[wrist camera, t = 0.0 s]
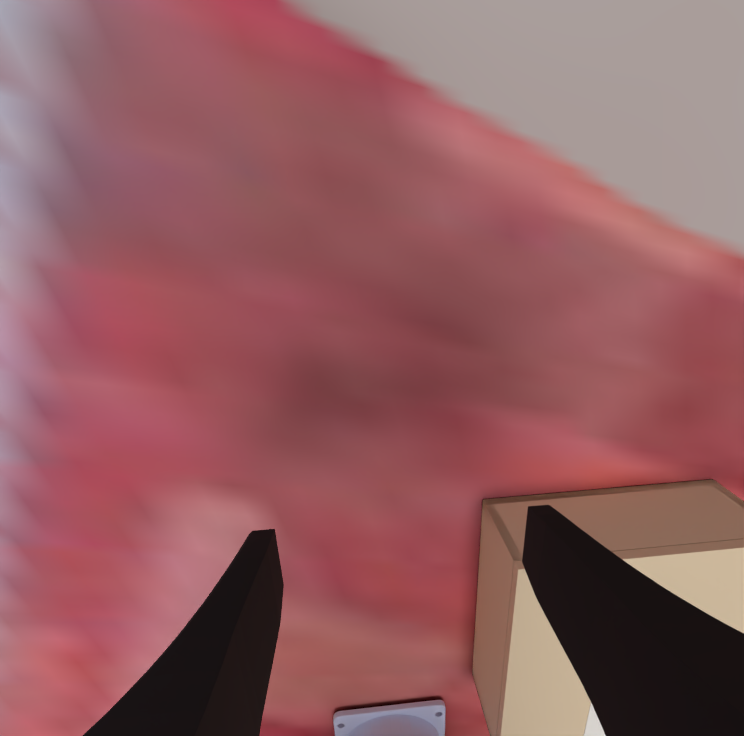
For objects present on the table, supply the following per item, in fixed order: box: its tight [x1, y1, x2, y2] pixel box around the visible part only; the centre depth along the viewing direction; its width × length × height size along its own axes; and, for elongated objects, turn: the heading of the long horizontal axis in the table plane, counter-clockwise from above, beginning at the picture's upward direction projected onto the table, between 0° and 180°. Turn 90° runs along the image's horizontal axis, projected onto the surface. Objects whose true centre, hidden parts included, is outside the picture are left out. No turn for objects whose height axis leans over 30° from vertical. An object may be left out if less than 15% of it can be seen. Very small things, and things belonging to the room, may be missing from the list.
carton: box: [472, 479, 744, 736], centre depth 25 cm, size 15×14×4 cm
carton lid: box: [497, 539, 744, 736], centre depth 21 cm, size 15×14×4 cm
